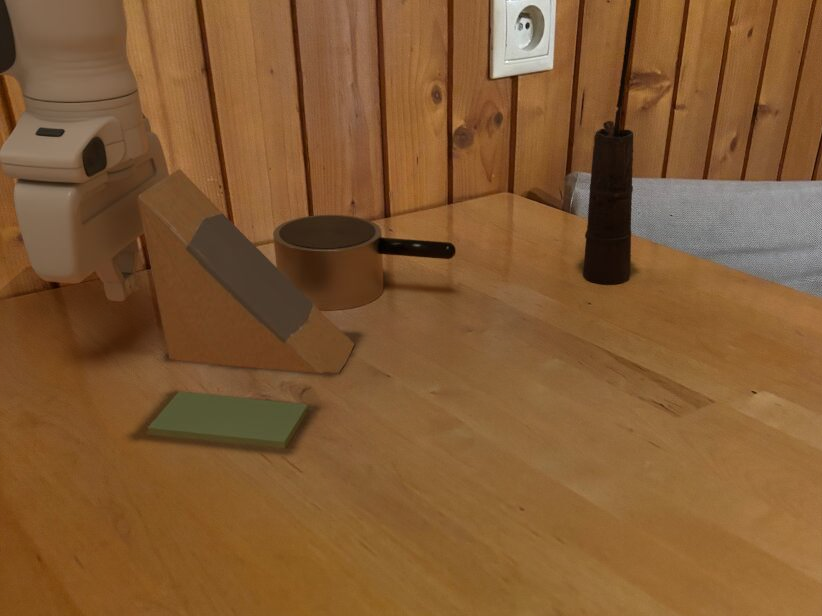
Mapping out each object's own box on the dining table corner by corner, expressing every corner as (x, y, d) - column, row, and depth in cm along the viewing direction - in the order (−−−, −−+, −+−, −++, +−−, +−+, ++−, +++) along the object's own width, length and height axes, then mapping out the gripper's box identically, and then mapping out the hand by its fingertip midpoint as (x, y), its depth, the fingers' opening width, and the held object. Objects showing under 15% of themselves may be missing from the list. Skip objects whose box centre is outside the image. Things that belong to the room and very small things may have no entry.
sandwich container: (333, 384, 83) (320, 208, 73) (168, 369, 85) (135, 195, 75) (357, 343, 89) (348, 177, 80) (204, 330, 91) (177, 166, 82)
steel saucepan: (265, 305, 96) (258, 245, 92) (297, 267, 104) (292, 210, 100) (445, 320, 94) (445, 259, 90) (463, 280, 102) (464, 223, 98)
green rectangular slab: (139, 446, 74) (135, 430, 73) (174, 405, 79) (171, 389, 78) (285, 462, 73) (283, 445, 72) (311, 419, 78) (309, 402, 77)
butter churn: (563, 254, 108) (589, -37, 91) (646, 261, 107) (689, -33, 89) (554, 283, 101) (580, -26, 84) (643, 291, 100) (688, -21, 82)
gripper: (110, 99, 85) (139, 253, 94) (-15, 160, 69) (34, 337, 78) (176, 104, 84) (199, 258, 93) (65, 166, 68) (105, 344, 77)
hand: (123, 295), depth 85 cm, fingers closed
